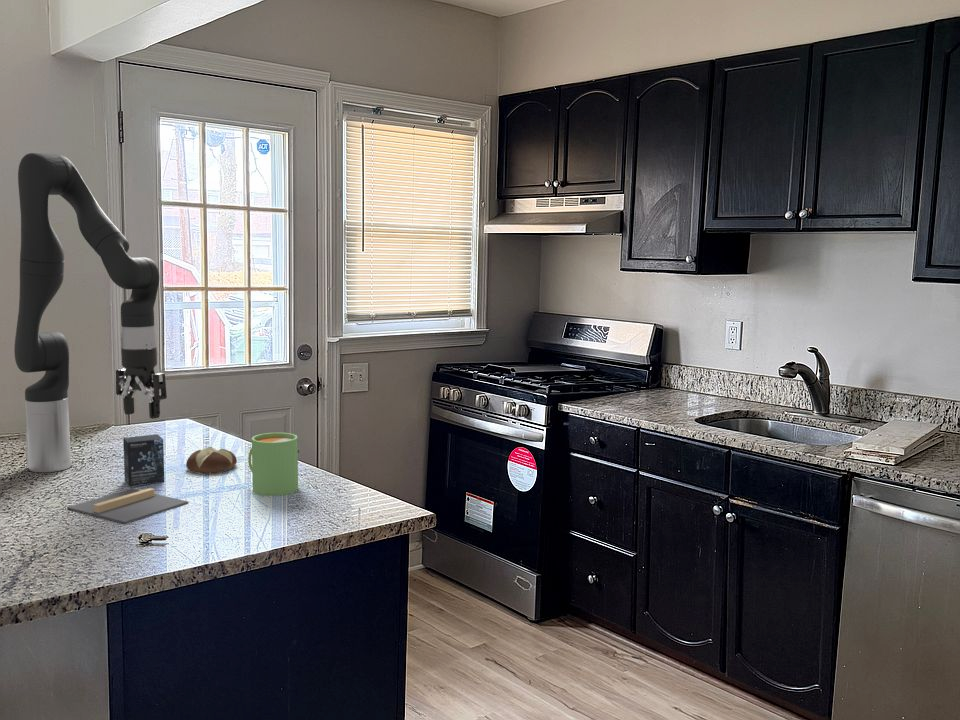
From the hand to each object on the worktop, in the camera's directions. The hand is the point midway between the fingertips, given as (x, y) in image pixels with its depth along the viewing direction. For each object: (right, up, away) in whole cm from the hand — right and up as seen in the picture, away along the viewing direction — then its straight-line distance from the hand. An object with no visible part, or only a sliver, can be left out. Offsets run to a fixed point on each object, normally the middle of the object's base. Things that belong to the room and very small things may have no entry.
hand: (141, 416), depth 198 cm
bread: (+12, -14, +15) cm, 24 cm away
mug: (+30, -17, -1) cm, 34 cm away
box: (0, -16, +2) cm, 16 cm away
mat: (+3, -18, -16) cm, 24 cm away
